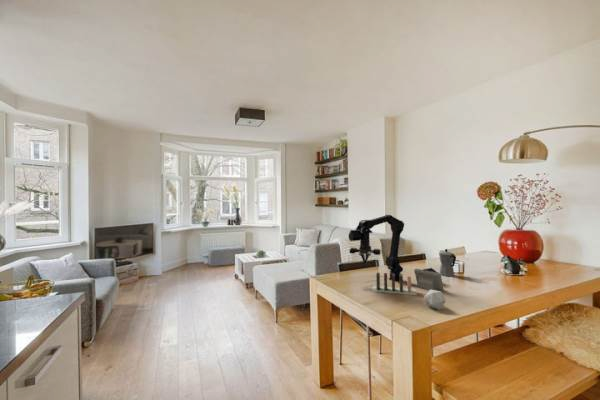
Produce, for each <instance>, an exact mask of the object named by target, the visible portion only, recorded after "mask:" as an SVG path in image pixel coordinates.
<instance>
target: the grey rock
mask: <svg viewBox="0 0 600 400" xmlns="http://www.w3.org/2000/svg"><path fill="white" fill-rule="evenodd" d="M423 297H424V300H425V303H426V305H427V307H428V308H431V309H435V310H441V309H442V307H443V306H444V305H445V304H446V300H445V297H444V294H443V292H442V290H437V289H436V290H431V289H430V290H427V292H426V294H425V295H424V296H423Z"/></svg>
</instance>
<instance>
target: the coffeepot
mask: <svg viewBox="0 0 600 400" xmlns="http://www.w3.org/2000/svg"><path fill="white" fill-rule="evenodd" d="M448 250H449V249H448V248H445V249H444V251H440V252H438V256H439V261H440V268H439V272H438V273H439V274H440V275H441V277H447V278H448V277H455V272H454V266H455V263H456V260H457V257H456V255H455V254H454V253H453V252H450V251H448Z"/></svg>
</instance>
